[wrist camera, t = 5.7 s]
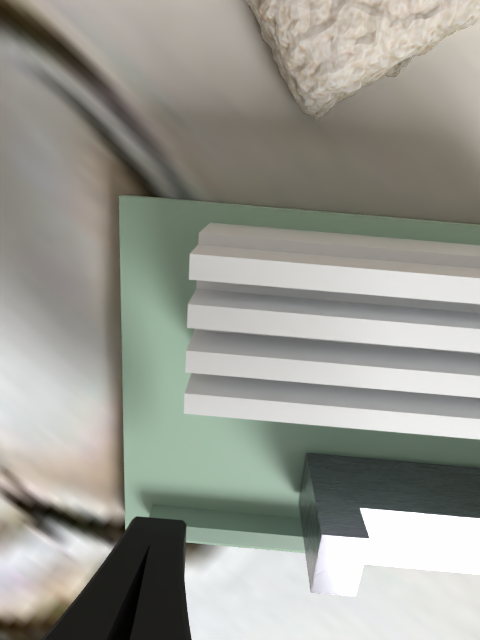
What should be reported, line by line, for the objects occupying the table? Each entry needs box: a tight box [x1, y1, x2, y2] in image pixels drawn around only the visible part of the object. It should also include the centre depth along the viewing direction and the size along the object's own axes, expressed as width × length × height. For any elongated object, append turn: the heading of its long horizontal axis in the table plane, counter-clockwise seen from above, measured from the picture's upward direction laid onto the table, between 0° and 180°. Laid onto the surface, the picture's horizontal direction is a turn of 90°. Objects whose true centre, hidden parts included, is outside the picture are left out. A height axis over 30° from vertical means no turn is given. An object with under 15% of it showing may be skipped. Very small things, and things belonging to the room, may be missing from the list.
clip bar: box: [298, 453, 480, 597], centre depth 12 cm, size 9×2×3 cm, turn 86°
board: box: [119, 195, 480, 553], centre depth 11 cm, size 16×12×4 cm
